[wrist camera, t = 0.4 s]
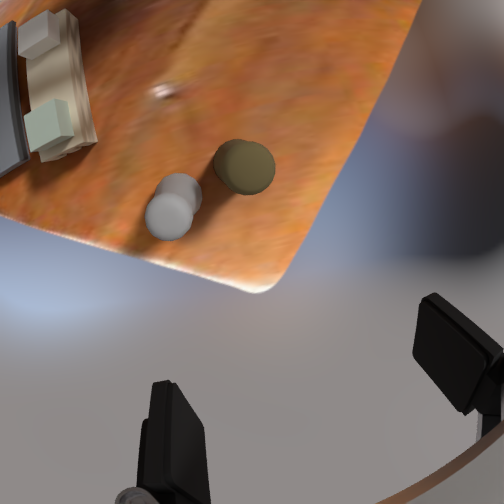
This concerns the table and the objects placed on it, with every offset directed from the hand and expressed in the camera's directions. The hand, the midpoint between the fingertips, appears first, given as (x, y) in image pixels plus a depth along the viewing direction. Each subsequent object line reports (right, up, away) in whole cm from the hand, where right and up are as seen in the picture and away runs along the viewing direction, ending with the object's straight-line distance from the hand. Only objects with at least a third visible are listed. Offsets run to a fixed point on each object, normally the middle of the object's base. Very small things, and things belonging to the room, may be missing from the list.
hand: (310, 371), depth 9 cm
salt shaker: (-11, +12, +26) cm, 31 cm away
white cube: (-28, +31, +10) cm, 43 cm away
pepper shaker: (-4, +15, +26) cm, 30 cm away
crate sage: (-25, +19, +16) cm, 35 cm away
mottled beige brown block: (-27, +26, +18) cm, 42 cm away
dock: (-41, +26, +15) cm, 51 cm away
